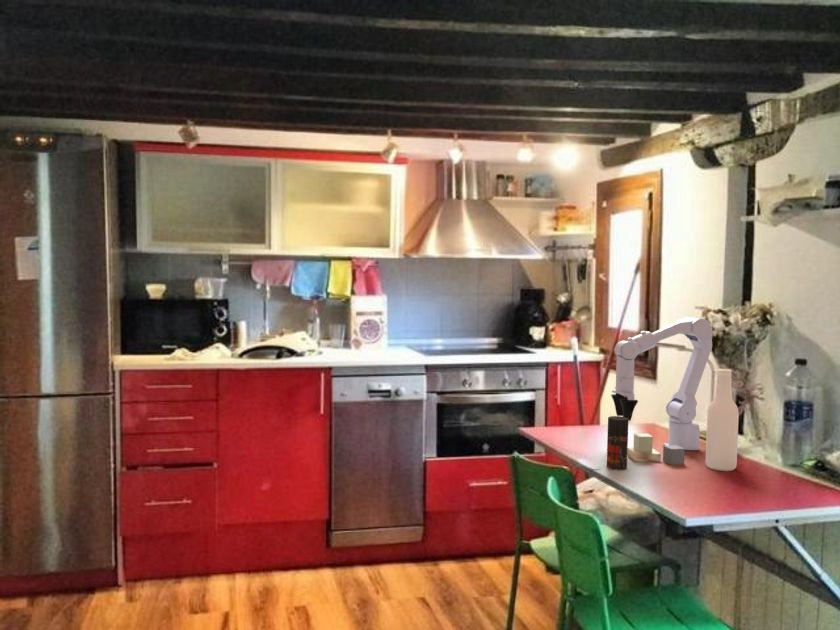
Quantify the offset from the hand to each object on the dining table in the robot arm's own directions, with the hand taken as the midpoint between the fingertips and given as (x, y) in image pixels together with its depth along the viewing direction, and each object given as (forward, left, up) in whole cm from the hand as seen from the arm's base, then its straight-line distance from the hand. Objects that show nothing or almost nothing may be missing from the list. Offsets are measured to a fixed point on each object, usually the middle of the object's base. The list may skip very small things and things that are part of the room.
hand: (623, 418), depth 253 cm
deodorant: (+9, +23, -11) cm, 27 cm away
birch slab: (-3, +12, -10) cm, 16 cm away
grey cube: (-10, +18, -10) cm, 23 cm away
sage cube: (-3, +12, -8) cm, 15 cm away
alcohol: (-23, +23, -11) cm, 34 cm away
